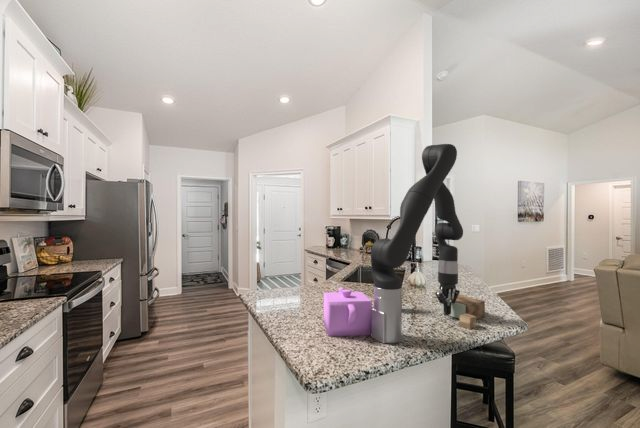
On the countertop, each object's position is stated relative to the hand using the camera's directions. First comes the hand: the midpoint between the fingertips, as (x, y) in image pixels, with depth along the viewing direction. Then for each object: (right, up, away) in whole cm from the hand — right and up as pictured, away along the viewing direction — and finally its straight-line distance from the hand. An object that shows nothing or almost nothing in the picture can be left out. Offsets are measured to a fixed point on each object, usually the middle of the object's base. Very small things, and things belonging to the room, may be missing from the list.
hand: (447, 314), depth 117 cm
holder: (+9, -2, +5) cm, 10 cm away
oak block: (+4, -2, -9) cm, 10 cm away
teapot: (-42, -1, -11) cm, 44 cm away
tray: (+8, -2, +5) cm, 9 cm away
